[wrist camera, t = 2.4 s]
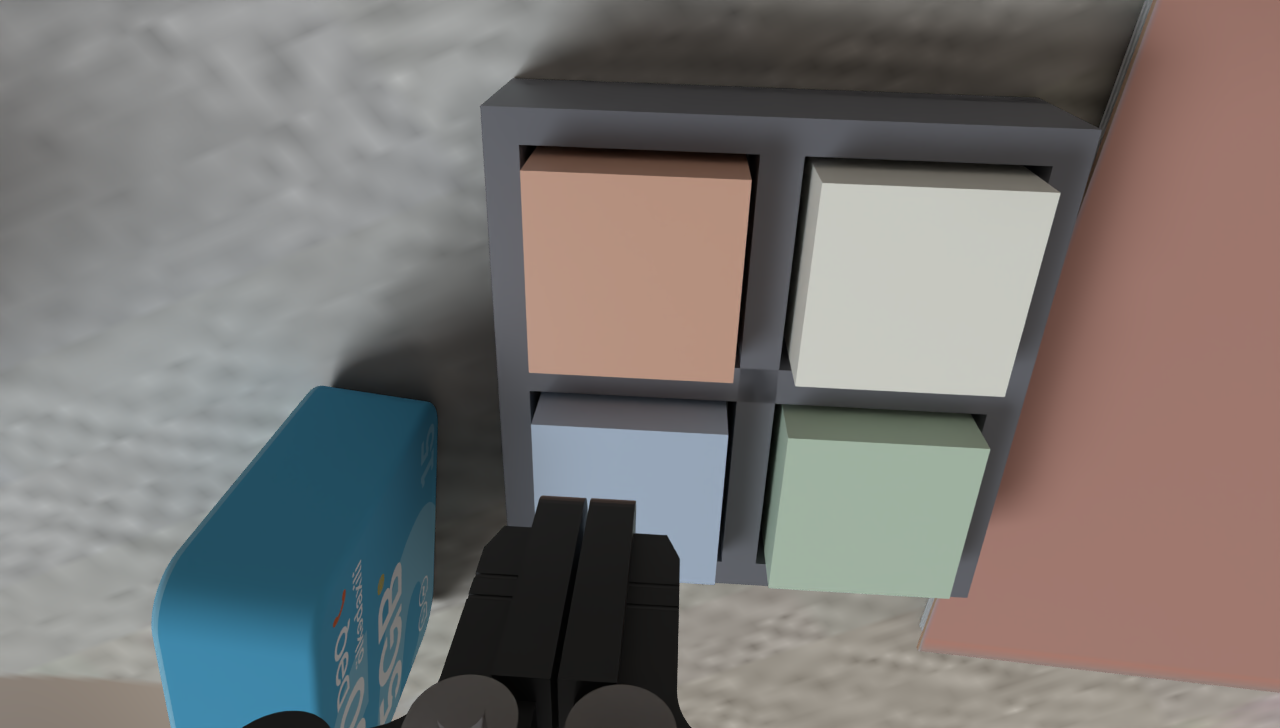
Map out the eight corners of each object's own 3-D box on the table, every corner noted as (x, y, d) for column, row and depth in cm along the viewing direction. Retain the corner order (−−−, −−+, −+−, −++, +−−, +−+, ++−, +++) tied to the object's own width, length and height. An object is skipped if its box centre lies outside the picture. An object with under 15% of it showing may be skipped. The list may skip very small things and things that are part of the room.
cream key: (783, 333, 27) (795, 386, 24) (805, 149, 24) (821, 183, 21) (968, 342, 27) (1004, 397, 24) (1013, 158, 24) (1060, 192, 21)
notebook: (1284, 664, 37) (1314, 701, 35) (908, 620, 37) (919, 655, 35) (1730, 3, 24) (1813, 9, 22) (1148, -63, 24) (1185, -62, 22)
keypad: (531, 494, 34) (510, 570, 30) (512, 78, 26) (480, 105, 22) (934, 517, 33) (967, 597, 29) (1038, 97, 25) (1102, 129, 21)
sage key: (760, 521, 31) (768, 588, 28) (777, 381, 28) (788, 438, 25) (923, 530, 30) (949, 598, 27) (957, 390, 28) (990, 449, 24)
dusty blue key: (553, 509, 31) (537, 574, 28) (548, 369, 28) (531, 424, 25) (712, 518, 31) (714, 585, 28) (724, 378, 28) (728, 434, 25)
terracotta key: (547, 322, 27) (528, 372, 24) (541, 139, 24) (519, 170, 21) (728, 330, 27) (732, 383, 24) (744, 147, 24) (751, 179, 21)
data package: (434, 612, 37) (331, 883, 27) (335, 597, 37) (193, 863, 27) (440, 386, 32) (313, 617, 21) (324, 368, 32) (138, 591, 21)
